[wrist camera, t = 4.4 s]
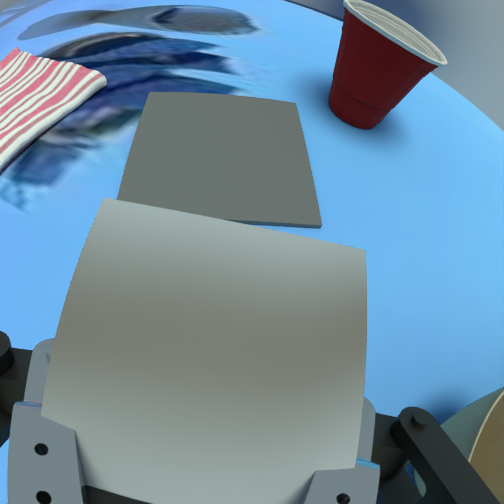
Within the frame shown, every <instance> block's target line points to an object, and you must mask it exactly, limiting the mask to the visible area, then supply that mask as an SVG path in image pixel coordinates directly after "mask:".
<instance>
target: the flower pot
mask: <svg viewBox="0 0 504 504" xmlns="http://www.w3.org/2000/svg"><path fill="white" fill-rule="evenodd" d="M440 426H441V428H442V429H443V430H444V431H445V432H446V434H447V435H448V436H449V437H450V439H451V440H452V441H453V443H454V444H455V445H456V446H457V448H458V449H459V450H460V451H461V453H462V454H463V455H464V456H465V458H466V459H467V460H468V462H469V463H470V464H471V465H472V467H473V468H474V469H475V471H476V472H477V473H478V475H479V476H480V477H481V479H482V480H483V481H484V482H485V484H486V485H487V486H488V488H489V489H490V490H491V492H492V493H493V494H494V496H495V497H496V498H497V500H498V501H499V503H500V504H504V387H503V388H500V389H498V390H496V391H494V392H492V393H490V394H488V395H486V396H484V397H482V398H480V399H478V400H477V401H475V402H473V403H471V404H470V405H468V406H466V407H465V408H463V409H462V410H460V411H459V412H457V413H456V414H455V415H453V416H452V417H450V418H449V419H448V420H446V421H445V422H444V423H443V424H441V425H440ZM414 478H415V481H416V484H417V487H418V490H419V492H420V494H421V495H422V497H423V496H424V495H425V492H426V486H425V484H424V482H423V480H422V479H421V477H420V476H419V474H418V473H417V471H416V470H415V468H414Z"/></svg>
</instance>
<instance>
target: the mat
mask: <svg viewBox="0 0 504 504" xmlns="http://www.w3.org/2000/svg"><path fill="white" fill-rule="evenodd" d="M117 200H120V201H126V202H132V203H137V204H143V205H148V206H154V207H159V208H165V209H170V210H175V211H181V212H186V213H191V214H196V215H202V216H207V217H212V218H217V219H222V220H227V221H232V222H237V223H242V224H259V225H276V226H293V227H308V228H320V227H321V226H322V223H321V217H320V212H319V206H318V201H317V196H316V191H315V186H314V181H313V176H312V171H311V167H310V162H309V157H308V153H307V149H306V144H305V140H304V136H303V131H302V127H301V123H300V119H299V115H298V111H297V107H296V103H292V102H285V101H278V100H271V99H263V98H255V97H246V96H236V95H224V94H209V93H187V92H150V93H149V95H148V98H147V101H146V104H145V106H144V109H143V112H142V115H141V118H140V121H139V124H138V127H137V130H136V133H135V136H134V139H133V142H132V146H131V149H130V152H129V156H128V159H127V163H126V166H125V170H124V174H123V177H122V181H121V185H120V189H119V193H118V197H117Z"/></svg>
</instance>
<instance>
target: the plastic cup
mask: <svg viewBox="0 0 504 504" xmlns="http://www.w3.org/2000/svg"><path fill="white" fill-rule="evenodd" d="M343 4H344V6H345V8H344V9H345V15H344V19H343V20H344V23H343V26H342V35H341V40H340V45H339V49H338V54H337V58H336V63H335V68H334V72H333V81H332V85H331V90H330V94H329V106H330V109H331V110H332V111H333V112H334V114H335V115H336V116H337V117H339V118H340V119H341V120H343V121H344V122H346V123H348V124H350V125H352V126H354V127H358V128H361V129H371V128H373V127H374V126H376V125H377V124H378V123H380V122H381V120H382V119H383V118H384V117H385V116H386V115H387V114H388V113H389V111H390V110H391V109H393V108H394V107H395V106H396V105H397V104H398V103H399V102H400V101H401V100H402V99H403V98H404V97H405V96H406V95H407V94H408V93H409V92H410V91H411V90H412V89H413V88H414V86H415V85H416V84H417V83H418V82H419V81H420V80H421V79H422V78H423V77H425V76H426V75H427V74H429V73H430V72H431V71H433V70H434V69H435V68H437V67H439V66H440V67H441V66H444V65H446V64H448V62H447V60H446V58H445V56H444V55H443V54H442V53H441V52H440V51H439V50H438V48H437V47H436V46H435V45H433V44H432V42H430V41H429V40H428V39H427V38H426V37H424V36H423V35H422V34H421V33H420V32H418V31H417V30H415V29H414V28H413V27H411V26H410V25H408V24H407V23H406V22H404V21H402V20H401V19H399V18H398V17H396V16H394V15H392V14H391V13H389V12H387V11H385V10H383V9H381V8H379V7H377V6H375V5H372V4H370V3H367V2H364V1H362V0H344V2H343Z"/></svg>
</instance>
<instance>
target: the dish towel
mask: <svg viewBox="0 0 504 504" xmlns="http://www.w3.org/2000/svg"><path fill="white" fill-rule="evenodd" d="M106 84H107V80H106V78H105V76H104V75H102V74H101V73H100V72H98V71H95V70H90V69H87V68H85V67H83V66H81V65H78V64H77V65H76V64H74V63H72V62H71V63H70V62H57V61H55V60H50V59H49V58H43V57H40V58H38V57H35V56H33V55H32V54H31V53H30V54H29V53H28V52H24V51H20V50H19V49H18V48H17V47H16V48H14V49H13V50H12V51H11V52H10V53H9V54H8V55H7V56H6V57H5V58H4V60H3V61H1V62H0V172H1V171H2V170H3V169H4V168H5V167H6V166H7V165H8V164H9V163H10V162H11V161H12V160H13V159H14V158H15V157H16V156H17V155H19V153H20V152H22V151H23V150H24V149H25V148H26V147H28V146H29V145H30V144H31V143H32V142H33V141H35V140H36V139H37V138H38V137H39V136H40V135H42V134H43V133H44V132H45V131H46V130H48V129H49V128H50V127H52V126H53V125H54V124H56V123H57V122H59V121H60V120H61V119H62V118H64V117H65V116H67V115H68V114H69V113H71V112H72V111H74V110H75V109H77V108H78V107H79V106H80V105H81V104H83V103H84V102H85V101H86V100H88V99H89V98H90V97H91V96H93V95H94V94H95V93H96V92H98V91H99V90H101V89H102V88H104V87H105V86H106Z"/></svg>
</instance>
